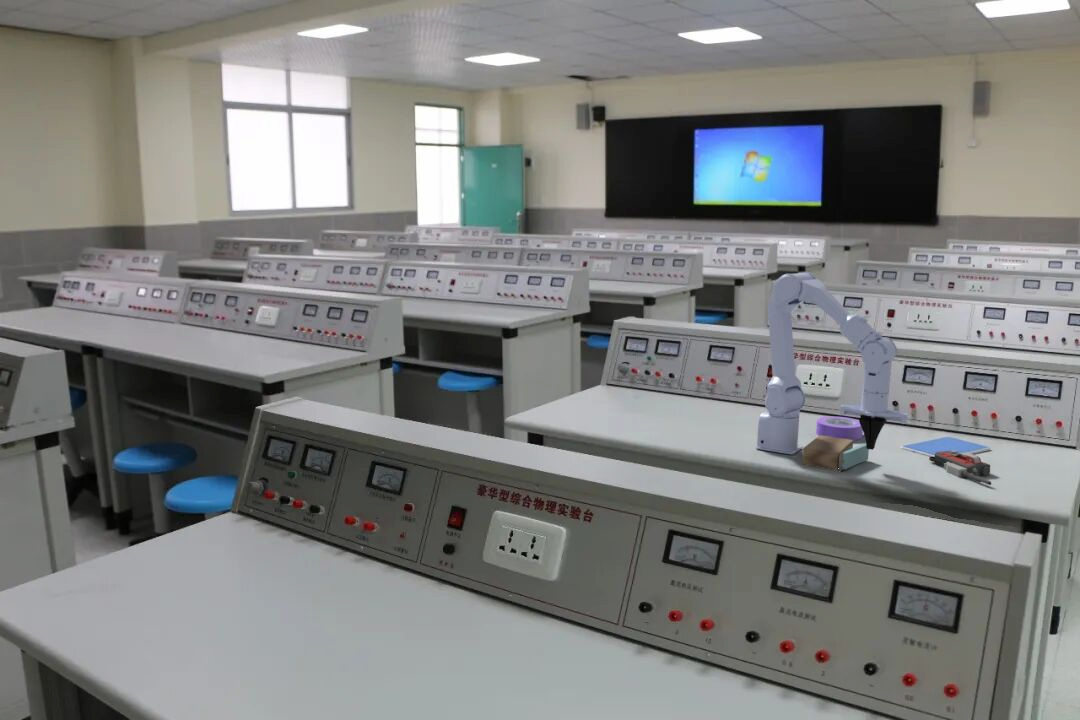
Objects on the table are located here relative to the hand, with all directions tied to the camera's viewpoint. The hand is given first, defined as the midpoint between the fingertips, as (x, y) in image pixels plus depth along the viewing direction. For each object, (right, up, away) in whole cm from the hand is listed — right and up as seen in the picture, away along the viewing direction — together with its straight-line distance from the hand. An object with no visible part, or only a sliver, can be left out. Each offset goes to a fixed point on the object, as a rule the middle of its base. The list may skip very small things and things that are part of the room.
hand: (870, 448), depth 203 cm
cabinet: (-7, -4, +7) cm, 11 cm away
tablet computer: (+26, -3, +18) cm, 32 cm away
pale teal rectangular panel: (-3, -4, +3) cm, 6 cm away
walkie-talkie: (+22, -6, -2) cm, 23 cm away
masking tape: (+3, 0, +31) cm, 31 cm away
